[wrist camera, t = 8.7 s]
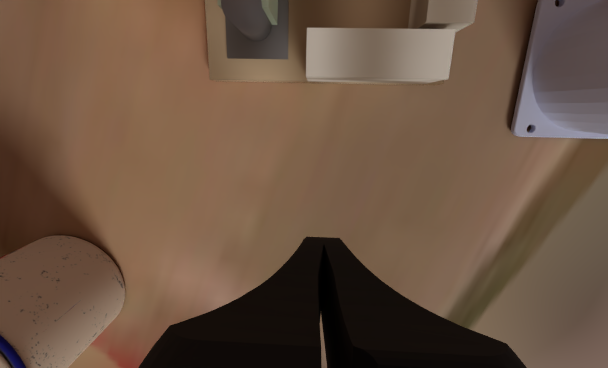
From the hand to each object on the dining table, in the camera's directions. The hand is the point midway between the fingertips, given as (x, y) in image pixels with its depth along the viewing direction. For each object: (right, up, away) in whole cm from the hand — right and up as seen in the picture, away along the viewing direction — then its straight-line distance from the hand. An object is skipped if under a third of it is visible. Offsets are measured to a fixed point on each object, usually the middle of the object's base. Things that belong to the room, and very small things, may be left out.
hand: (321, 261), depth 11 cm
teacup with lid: (-20, -6, +13) cm, 25 cm away
